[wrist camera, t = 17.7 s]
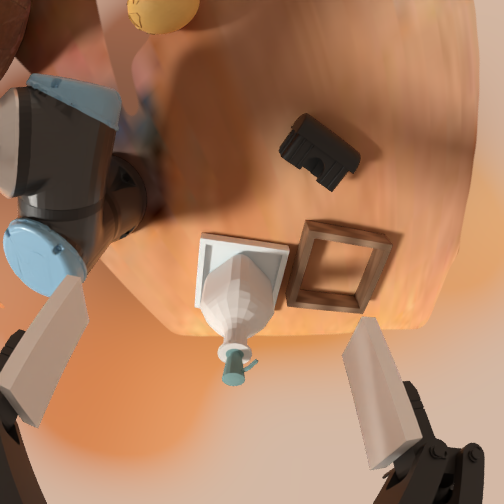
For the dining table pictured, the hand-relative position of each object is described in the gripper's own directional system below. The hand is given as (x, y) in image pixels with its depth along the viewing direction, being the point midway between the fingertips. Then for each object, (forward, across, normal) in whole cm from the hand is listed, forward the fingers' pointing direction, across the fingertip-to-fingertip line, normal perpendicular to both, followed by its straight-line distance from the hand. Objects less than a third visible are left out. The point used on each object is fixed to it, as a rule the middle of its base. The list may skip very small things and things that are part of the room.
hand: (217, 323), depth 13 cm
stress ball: (+37, -14, +22) cm, 45 cm away
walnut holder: (+37, +20, -17) cm, 45 cm away
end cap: (+37, +11, +3) cm, 39 cm away
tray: (+37, +3, -22) cm, 43 cm away
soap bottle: (+36, +3, -22) cm, 42 cm away
